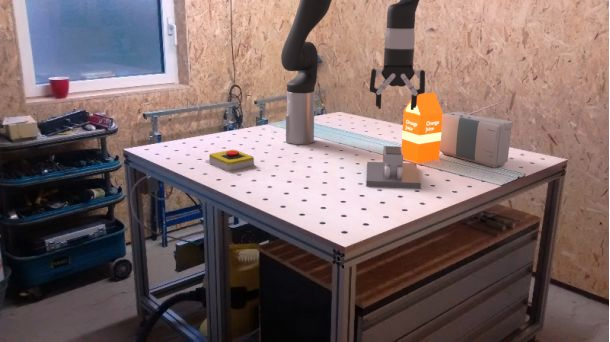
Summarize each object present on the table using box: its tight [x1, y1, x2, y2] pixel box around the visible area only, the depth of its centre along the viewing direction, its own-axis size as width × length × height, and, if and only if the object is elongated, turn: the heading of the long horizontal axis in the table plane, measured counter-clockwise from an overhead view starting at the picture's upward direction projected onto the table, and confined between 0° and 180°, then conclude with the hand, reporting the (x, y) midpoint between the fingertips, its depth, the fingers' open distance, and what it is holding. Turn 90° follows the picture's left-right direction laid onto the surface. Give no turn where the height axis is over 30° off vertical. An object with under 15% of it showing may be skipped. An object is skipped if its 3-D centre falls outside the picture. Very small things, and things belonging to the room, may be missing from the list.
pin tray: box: [365, 161, 422, 189], centre depth 152 cm, size 14×18×4 cm
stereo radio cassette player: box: [440, 97, 514, 169], centre depth 167 cm, size 21×8×20 cm, turn 37°
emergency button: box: [205, 149, 258, 174], centre depth 163 cm, size 9×4×15 cm
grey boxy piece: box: [382, 145, 404, 177], centre depth 151 cm, size 5×9×6 cm, turn 173°
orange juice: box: [401, 92, 444, 164], centre depth 168 cm, size 8×9×20 cm
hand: (395, 108), depth 147 cm, fingers open, 8 cm apart
